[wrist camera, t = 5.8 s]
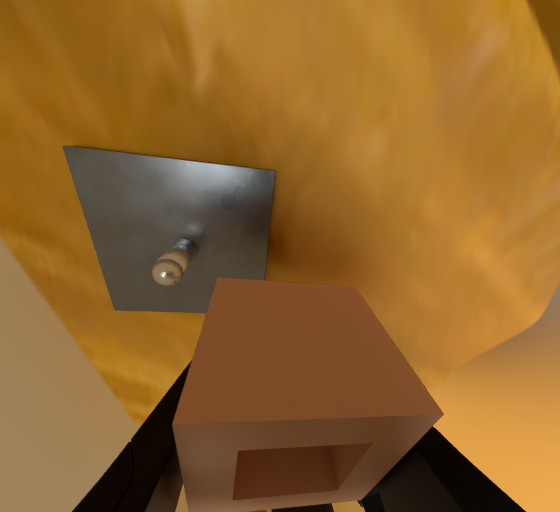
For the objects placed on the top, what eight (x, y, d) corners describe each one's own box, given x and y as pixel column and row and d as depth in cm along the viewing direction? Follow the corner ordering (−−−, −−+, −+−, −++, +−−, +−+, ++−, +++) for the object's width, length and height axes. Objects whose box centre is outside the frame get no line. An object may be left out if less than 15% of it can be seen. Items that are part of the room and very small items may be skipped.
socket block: (354, 286, 9) (443, 413, 5) (323, 369, 12) (361, 500, 8) (218, 277, 8) (171, 424, 4) (217, 369, 11) (190, 517, 7)
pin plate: (274, 170, 16) (280, 178, 11) (260, 307, 22) (261, 351, 17) (74, 145, 14) (-23, 143, 9) (120, 303, 20) (77, 351, 16)
